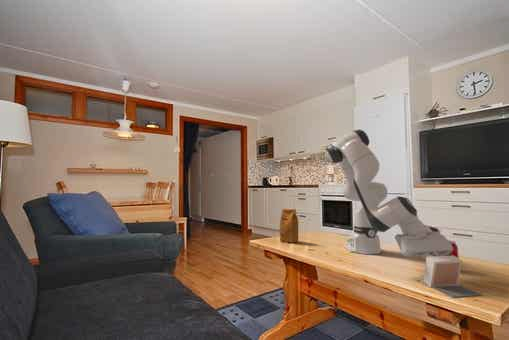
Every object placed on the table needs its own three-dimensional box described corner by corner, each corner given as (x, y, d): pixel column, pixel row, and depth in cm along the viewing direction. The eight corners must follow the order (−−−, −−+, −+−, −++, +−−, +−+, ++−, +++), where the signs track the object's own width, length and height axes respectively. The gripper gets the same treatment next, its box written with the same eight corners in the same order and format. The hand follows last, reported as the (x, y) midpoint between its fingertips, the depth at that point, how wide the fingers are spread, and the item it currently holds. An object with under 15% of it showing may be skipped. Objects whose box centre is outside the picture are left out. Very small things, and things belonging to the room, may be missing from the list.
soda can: (435, 268, 115) (433, 240, 116) (446, 266, 118) (444, 239, 119) (452, 272, 109) (450, 243, 109) (463, 270, 111) (461, 242, 112)
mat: (433, 288, 93) (433, 287, 93) (460, 286, 94) (460, 285, 94) (452, 297, 85) (452, 296, 85) (482, 295, 86) (482, 294, 86)
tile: (423, 281, 97) (426, 256, 95) (449, 279, 99) (453, 255, 97) (430, 287, 94) (434, 261, 92) (458, 285, 95) (462, 260, 93)
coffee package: (287, 239, 183) (286, 207, 185) (300, 241, 173) (300, 208, 175) (277, 241, 177) (276, 208, 178) (290, 244, 167) (289, 209, 169)
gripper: (396, 229, 104) (415, 261, 94) (442, 228, 107) (465, 259, 96) (389, 238, 108) (407, 270, 98) (434, 237, 111) (456, 267, 100)
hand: (436, 264), depth 97 cm, fingers closed
